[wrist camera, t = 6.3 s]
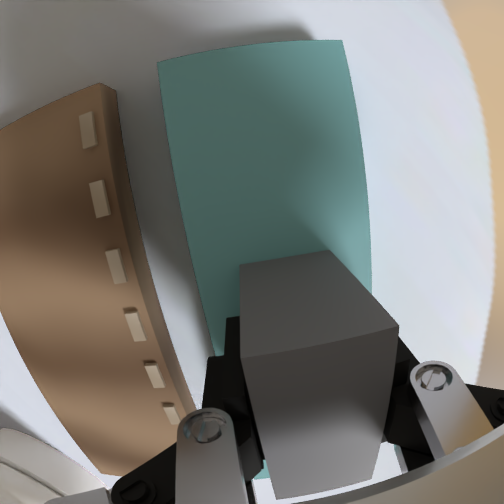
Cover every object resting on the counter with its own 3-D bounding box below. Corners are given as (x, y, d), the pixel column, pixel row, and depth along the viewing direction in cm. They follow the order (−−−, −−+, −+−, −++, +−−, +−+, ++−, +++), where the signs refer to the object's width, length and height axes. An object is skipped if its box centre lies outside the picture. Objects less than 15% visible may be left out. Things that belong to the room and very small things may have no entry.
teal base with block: (167, 74, 9) (90, -9, 3) (329, 53, 9) (414, -32, 3) (253, 460, 15) (259, 551, 9) (351, 442, 15) (380, 527, 9)
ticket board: (-18, 152, 10) (-41, 154, 8) (115, 90, 10) (97, 81, 8) (106, 457, 15) (100, 475, 14) (218, 460, 15) (218, 482, 14)
